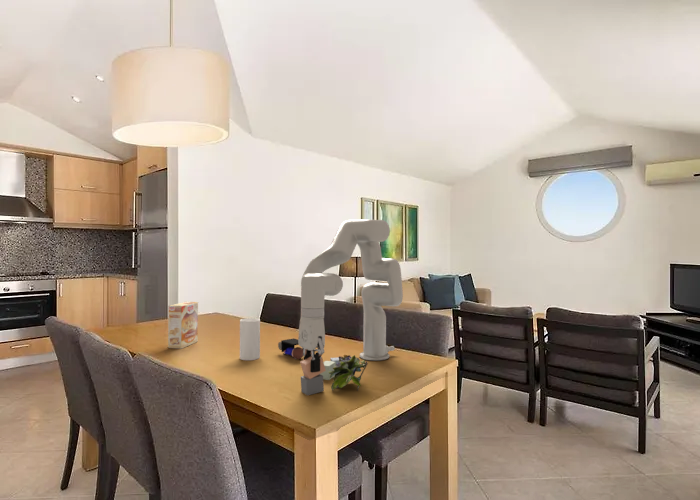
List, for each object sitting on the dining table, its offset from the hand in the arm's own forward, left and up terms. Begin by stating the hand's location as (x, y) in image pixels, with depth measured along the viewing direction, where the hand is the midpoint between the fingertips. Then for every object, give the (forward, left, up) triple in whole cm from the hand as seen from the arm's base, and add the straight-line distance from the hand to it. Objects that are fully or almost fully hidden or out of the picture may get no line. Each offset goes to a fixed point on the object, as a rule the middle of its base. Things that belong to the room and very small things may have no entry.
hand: (311, 369), depth 137 cm
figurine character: (-14, -44, -8) cm, 47 cm away
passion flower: (-13, +2, -8) cm, 15 cm away
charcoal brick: (0, 0, -7) cm, 7 cm away
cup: (+2, -51, -7) cm, 52 cm away
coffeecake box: (+20, -90, -8) cm, 93 cm away
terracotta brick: (-1, 0, -1) cm, 2 cm away
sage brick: (-12, -11, -7) cm, 18 cm away
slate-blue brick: (-19, -14, -7) cm, 25 cm away
